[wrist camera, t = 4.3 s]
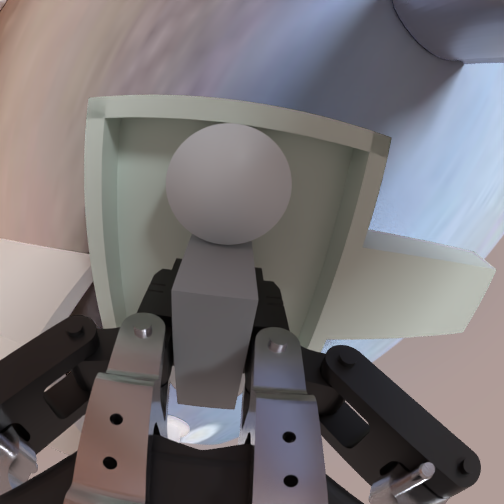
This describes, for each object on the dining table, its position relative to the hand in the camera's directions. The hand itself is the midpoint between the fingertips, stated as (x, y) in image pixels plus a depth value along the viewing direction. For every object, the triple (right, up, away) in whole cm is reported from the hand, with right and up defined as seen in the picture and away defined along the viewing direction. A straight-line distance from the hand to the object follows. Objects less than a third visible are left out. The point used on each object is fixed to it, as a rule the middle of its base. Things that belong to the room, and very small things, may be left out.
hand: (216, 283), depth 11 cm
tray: (+5, 0, +3) cm, 6 cm away
